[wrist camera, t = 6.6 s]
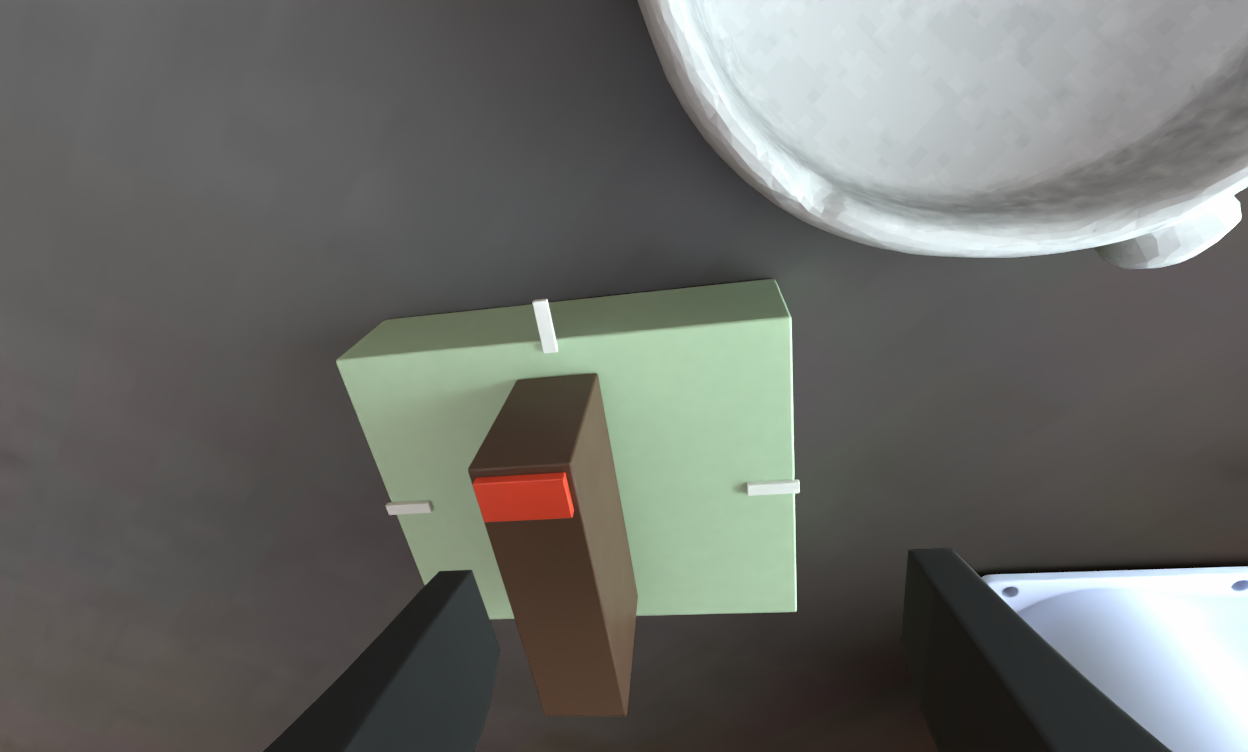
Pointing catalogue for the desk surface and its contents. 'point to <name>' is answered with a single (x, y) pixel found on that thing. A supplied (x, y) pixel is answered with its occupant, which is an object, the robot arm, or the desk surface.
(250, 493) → the desk surface
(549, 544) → the brown block
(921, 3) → the dish
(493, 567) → the stand
